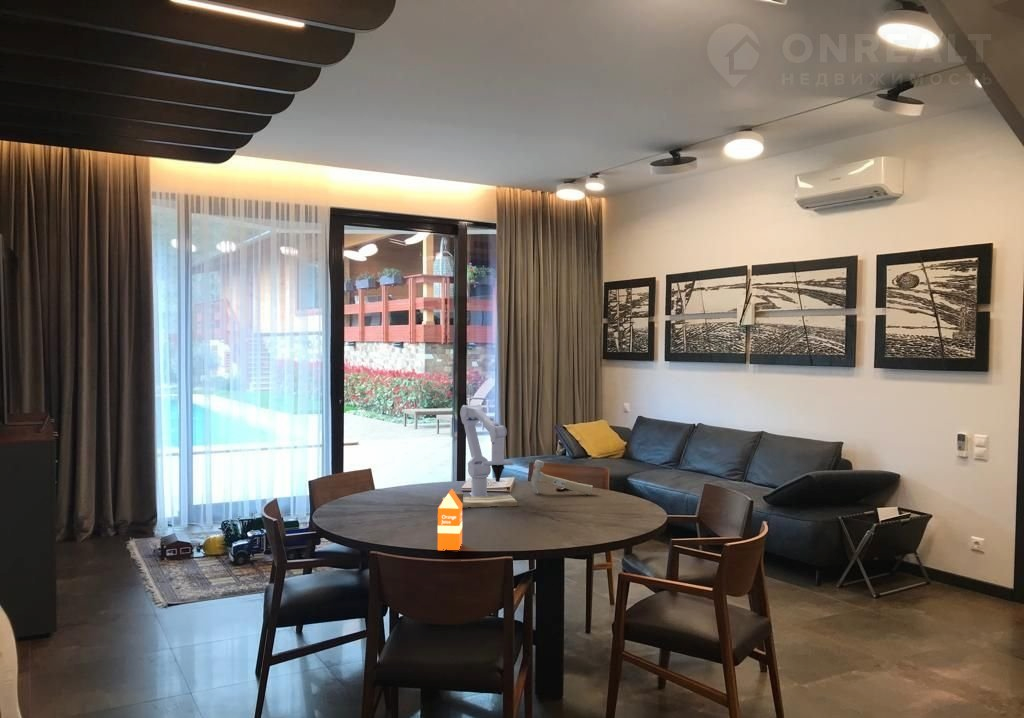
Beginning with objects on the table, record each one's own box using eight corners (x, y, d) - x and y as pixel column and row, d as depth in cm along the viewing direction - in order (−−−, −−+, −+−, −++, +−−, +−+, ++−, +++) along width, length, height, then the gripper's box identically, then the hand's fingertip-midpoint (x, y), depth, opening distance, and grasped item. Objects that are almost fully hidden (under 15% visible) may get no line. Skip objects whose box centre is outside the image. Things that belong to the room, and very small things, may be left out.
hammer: (595, 474, 344) (535, 459, 347) (595, 476, 339) (535, 460, 342) (587, 505, 345) (528, 489, 347) (587, 507, 340) (527, 491, 343)
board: (442, 501, 323) (442, 497, 323) (510, 499, 330) (510, 494, 330) (445, 508, 309) (445, 503, 309) (516, 505, 316) (517, 501, 316)
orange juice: (462, 544, 252) (462, 488, 251) (459, 550, 243) (459, 493, 243) (440, 543, 252) (441, 487, 252) (436, 550, 243) (437, 492, 243)
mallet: (449, 498, 320) (449, 489, 320) (459, 498, 322) (460, 489, 322) (452, 503, 310) (452, 494, 310) (463, 502, 311) (463, 493, 311)
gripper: (483, 453, 319) (483, 483, 319) (515, 452, 322) (514, 482, 322) (481, 451, 326) (480, 480, 326) (511, 450, 329) (511, 479, 329)
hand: (497, 481), depth 324 cm, fingers closed
